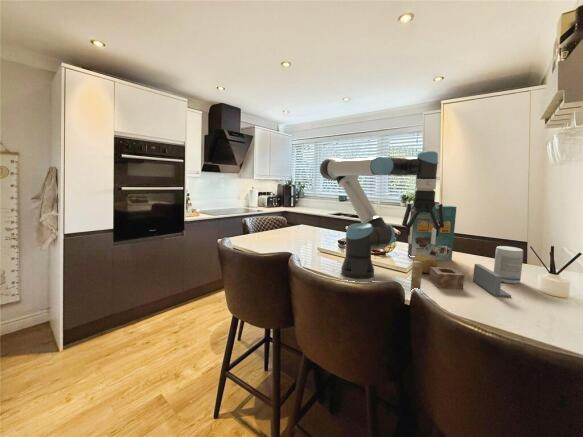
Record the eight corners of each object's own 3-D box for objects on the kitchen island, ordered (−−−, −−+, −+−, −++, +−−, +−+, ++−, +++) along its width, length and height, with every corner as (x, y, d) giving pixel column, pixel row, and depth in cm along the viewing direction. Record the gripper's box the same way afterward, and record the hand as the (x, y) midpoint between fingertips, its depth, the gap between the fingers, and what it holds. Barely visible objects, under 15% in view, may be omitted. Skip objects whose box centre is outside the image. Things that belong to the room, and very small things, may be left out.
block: (436, 287, 113) (438, 273, 112) (429, 279, 122) (430, 266, 121) (463, 289, 111) (464, 275, 111) (453, 281, 120) (454, 268, 119)
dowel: (411, 292, 108) (414, 263, 106) (409, 289, 111) (411, 260, 109) (421, 293, 107) (423, 263, 105) (418, 289, 110) (420, 261, 109)
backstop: (493, 296, 105) (495, 276, 104) (472, 281, 120) (474, 263, 119) (510, 297, 104) (513, 277, 103) (487, 282, 120) (489, 264, 118)
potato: (425, 267, 140) (426, 252, 139) (441, 276, 126) (443, 260, 125) (406, 267, 140) (407, 252, 138) (421, 276, 126) (422, 260, 125)
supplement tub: (525, 283, 119) (530, 250, 116) (508, 285, 116) (512, 251, 114) (503, 275, 128) (507, 245, 126) (487, 277, 126) (490, 246, 124)
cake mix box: (446, 257, 159) (451, 205, 155) (451, 260, 153) (456, 206, 149) (407, 256, 161) (411, 205, 157) (411, 258, 155) (414, 206, 151)
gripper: (400, 189, 111) (396, 244, 114) (457, 190, 108) (452, 246, 111) (396, 189, 118) (392, 240, 121) (449, 190, 115) (444, 242, 118)
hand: (421, 243), depth 116 cm, fingers open, 9 cm apart
